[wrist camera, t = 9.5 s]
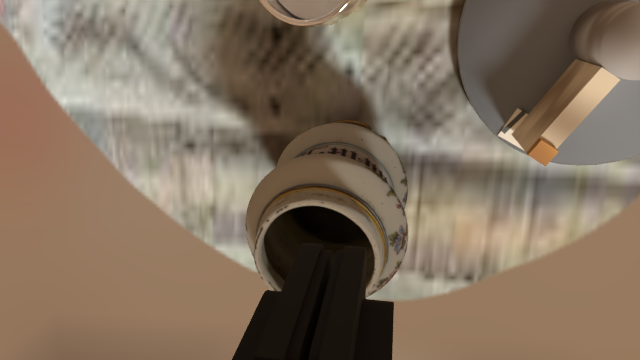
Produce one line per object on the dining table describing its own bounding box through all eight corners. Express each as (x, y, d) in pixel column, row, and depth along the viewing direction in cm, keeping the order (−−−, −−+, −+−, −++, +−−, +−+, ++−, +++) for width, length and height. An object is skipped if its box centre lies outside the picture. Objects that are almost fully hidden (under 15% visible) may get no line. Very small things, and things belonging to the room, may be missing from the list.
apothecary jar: (432, 151, 42) (450, 246, 26) (364, 239, 47) (343, 366, 30) (327, 84, 41) (275, 137, 25) (269, 180, 46) (196, 277, 30)
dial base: (408, 85, 40) (408, 88, 38) (574, -185, 31) (582, -195, 29) (611, 201, 41) (619, 209, 39) (831, -31, 32) (854, -33, 30)
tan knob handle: (603, -12, 33) (645, -15, 27) (655, 24, 33) (708, 28, 28) (493, 121, 38) (509, 142, 32) (540, 152, 38) (563, 178, 33)
